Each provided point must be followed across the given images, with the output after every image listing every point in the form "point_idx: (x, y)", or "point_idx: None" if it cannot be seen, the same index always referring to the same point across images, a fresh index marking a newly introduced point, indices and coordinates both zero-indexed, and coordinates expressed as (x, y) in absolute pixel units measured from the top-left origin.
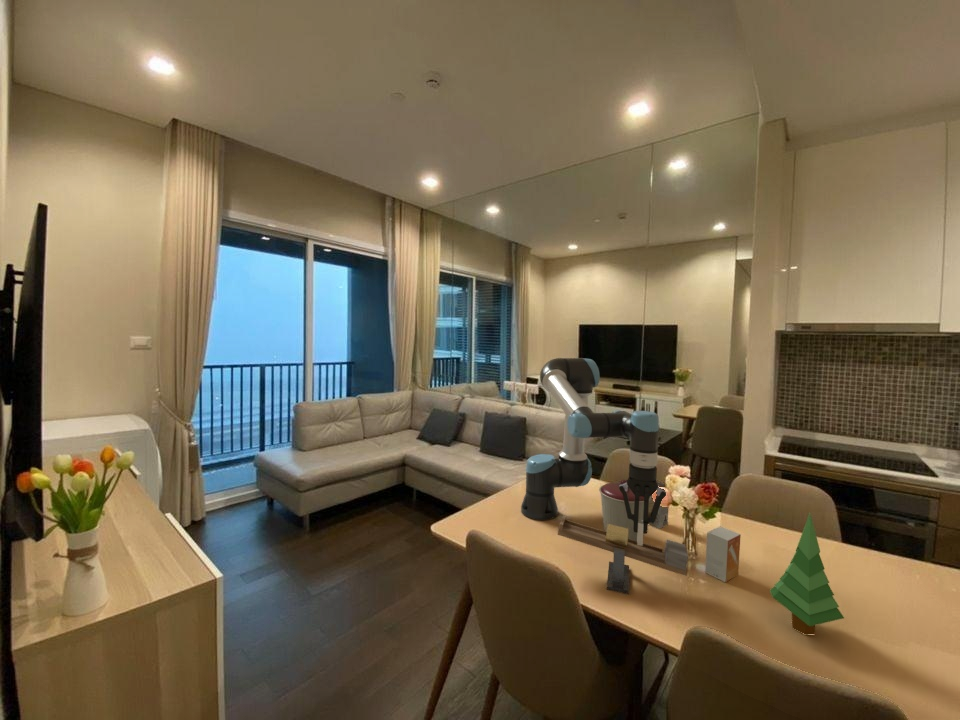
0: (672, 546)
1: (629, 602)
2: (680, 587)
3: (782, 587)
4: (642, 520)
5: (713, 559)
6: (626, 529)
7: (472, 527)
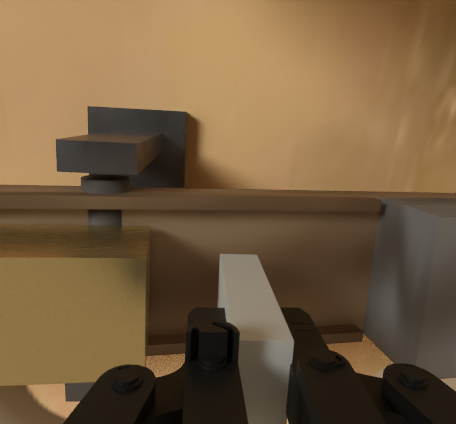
0: (453, 303)
1: (180, 355)
2: (386, 191)
3: None
4: (285, 348)
5: None
6: (130, 282)
7: None
